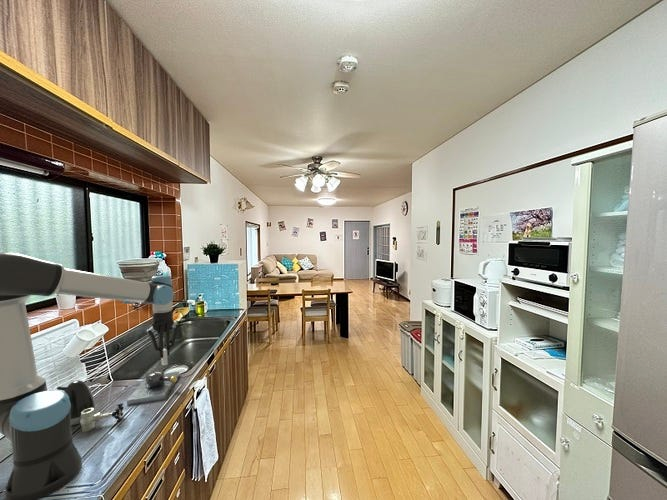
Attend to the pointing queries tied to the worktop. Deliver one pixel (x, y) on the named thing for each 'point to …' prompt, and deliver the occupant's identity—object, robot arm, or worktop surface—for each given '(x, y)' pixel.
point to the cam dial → (157, 378)
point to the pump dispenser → (78, 399)
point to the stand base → (151, 391)
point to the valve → (98, 417)
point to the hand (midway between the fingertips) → (164, 364)
